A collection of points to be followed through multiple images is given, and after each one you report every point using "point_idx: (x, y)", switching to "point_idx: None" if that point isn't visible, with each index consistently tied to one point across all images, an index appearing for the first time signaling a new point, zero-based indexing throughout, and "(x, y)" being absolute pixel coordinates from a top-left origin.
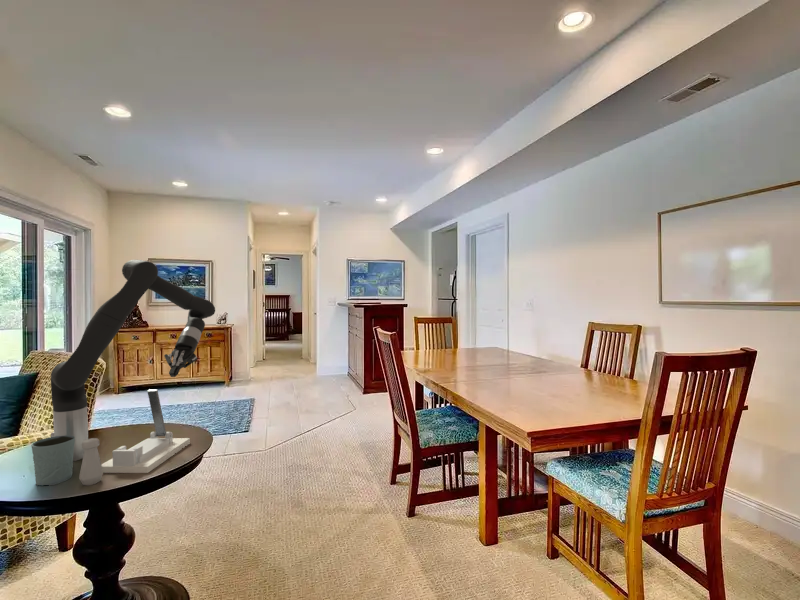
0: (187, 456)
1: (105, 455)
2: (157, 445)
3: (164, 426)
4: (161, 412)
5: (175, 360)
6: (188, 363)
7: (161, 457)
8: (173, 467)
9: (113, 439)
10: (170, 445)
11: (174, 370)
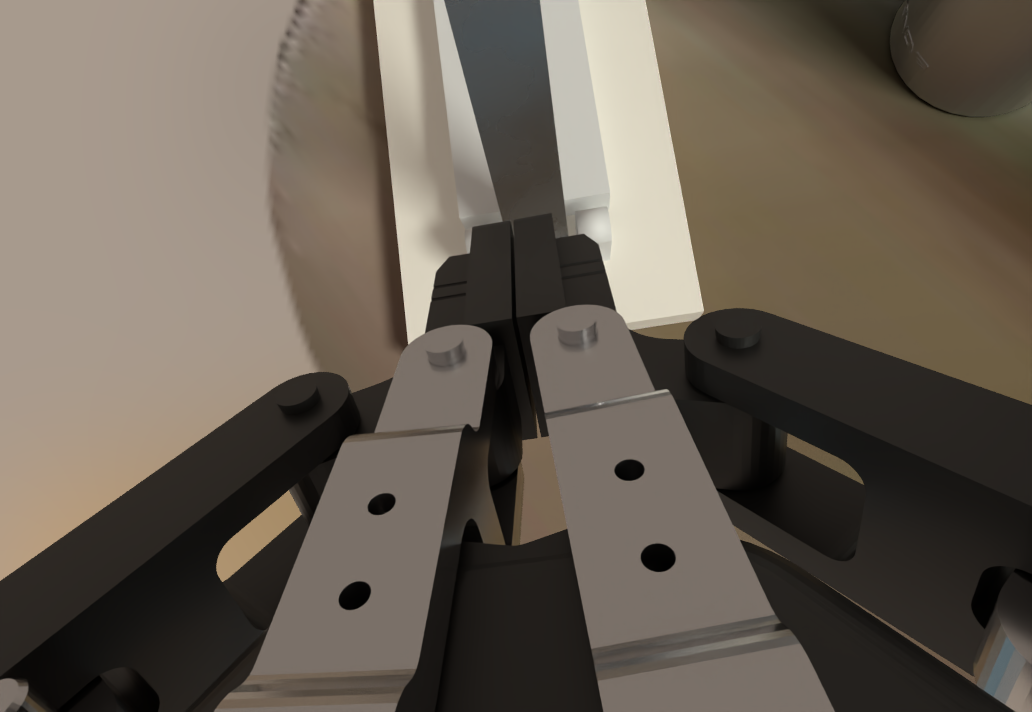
0: (311, 186)
1: (799, 111)
2: (448, 104)
3: (499, 208)
4: (475, 113)
5: (570, 414)
6: (251, 597)
7: (380, 68)
8: (297, 59)
9: (1025, 350)
10: (449, 222)
11: (474, 261)
